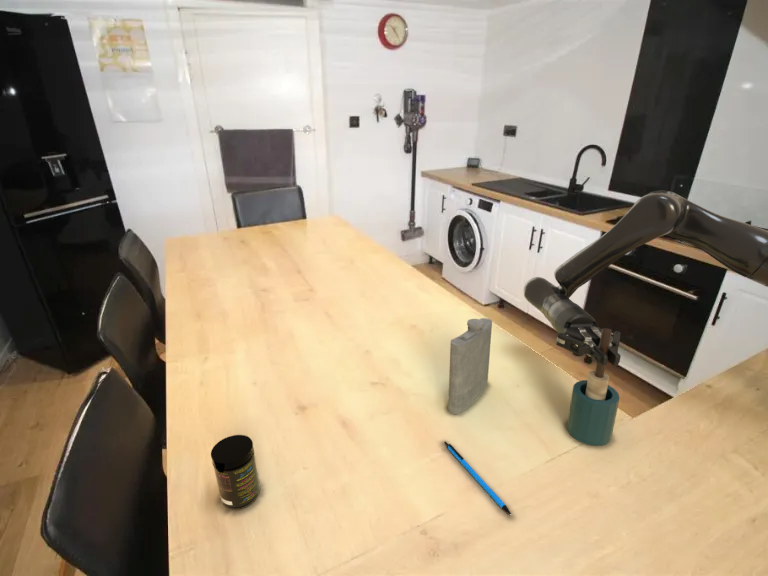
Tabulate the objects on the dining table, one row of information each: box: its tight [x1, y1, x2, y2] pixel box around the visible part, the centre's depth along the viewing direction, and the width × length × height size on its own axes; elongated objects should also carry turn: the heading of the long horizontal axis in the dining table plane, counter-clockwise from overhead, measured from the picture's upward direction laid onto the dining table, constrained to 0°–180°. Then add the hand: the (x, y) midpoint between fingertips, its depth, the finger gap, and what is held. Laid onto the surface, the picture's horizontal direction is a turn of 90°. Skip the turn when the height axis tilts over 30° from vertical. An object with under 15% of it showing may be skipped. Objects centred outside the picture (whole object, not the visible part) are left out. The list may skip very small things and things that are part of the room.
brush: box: [585, 327, 613, 401], centre depth 80 cm, size 4×4×16 cm
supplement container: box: [210, 434, 261, 510], centre depth 71 cm, size 7×7×10 cm
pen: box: [444, 440, 512, 516], centre depth 75 cm, size 1×19×1 cm, turn 26°
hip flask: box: [447, 317, 493, 415], centre depth 94 cm, size 16×4×20 cm, turn 141°
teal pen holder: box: [566, 379, 620, 447], centre depth 83 cm, size 8×8×10 cm
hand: (611, 361), depth 76 cm, fingers closed on brush
